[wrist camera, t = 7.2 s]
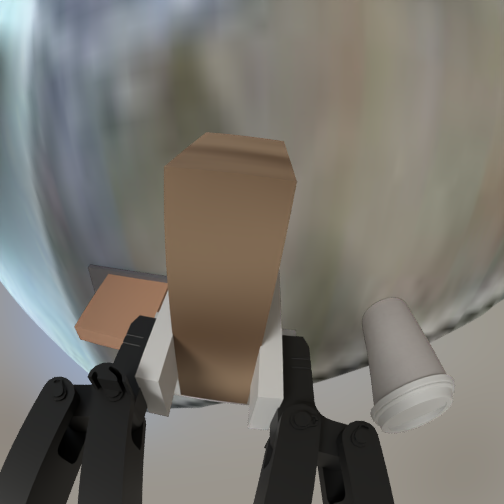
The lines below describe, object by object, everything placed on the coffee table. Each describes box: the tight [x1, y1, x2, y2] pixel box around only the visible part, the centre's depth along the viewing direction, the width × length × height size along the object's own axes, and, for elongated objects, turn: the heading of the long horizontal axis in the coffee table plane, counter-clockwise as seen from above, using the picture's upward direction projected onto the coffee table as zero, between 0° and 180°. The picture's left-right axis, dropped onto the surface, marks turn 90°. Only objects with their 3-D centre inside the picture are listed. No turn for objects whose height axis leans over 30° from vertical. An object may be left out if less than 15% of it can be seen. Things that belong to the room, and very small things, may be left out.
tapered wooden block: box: [154, 132, 297, 405], centre depth 13 cm, size 18×8×5 cm, turn 173°
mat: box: [88, 265, 168, 293], centre depth 35 cm, size 13×14×1 cm
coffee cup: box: [362, 298, 455, 433], centre depth 27 cm, size 10×10×15 cm
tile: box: [74, 274, 168, 350], centre depth 28 cm, size 2×8×9 cm, turn 84°
